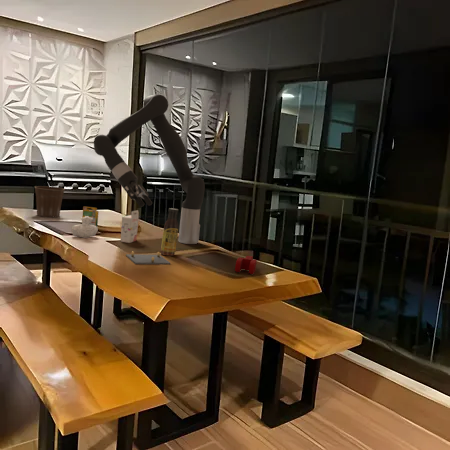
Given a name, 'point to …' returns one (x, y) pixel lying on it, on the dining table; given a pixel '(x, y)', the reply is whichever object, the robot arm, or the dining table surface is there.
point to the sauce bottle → (170, 234)
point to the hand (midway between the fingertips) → (146, 205)
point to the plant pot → (48, 200)
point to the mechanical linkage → (246, 264)
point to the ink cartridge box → (129, 227)
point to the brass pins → (152, 257)
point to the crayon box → (91, 215)
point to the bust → (84, 228)
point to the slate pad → (147, 259)
